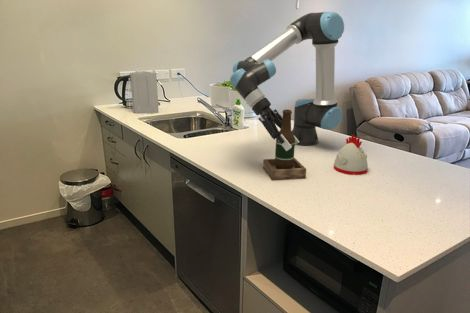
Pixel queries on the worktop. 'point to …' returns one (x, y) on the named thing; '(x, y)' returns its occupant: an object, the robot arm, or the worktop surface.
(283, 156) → the beer bottle
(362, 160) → the kitchen timer
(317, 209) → the worktop surface
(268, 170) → the square wooden tray
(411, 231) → the worktop surface
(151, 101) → the paper bag
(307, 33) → the robot arm
